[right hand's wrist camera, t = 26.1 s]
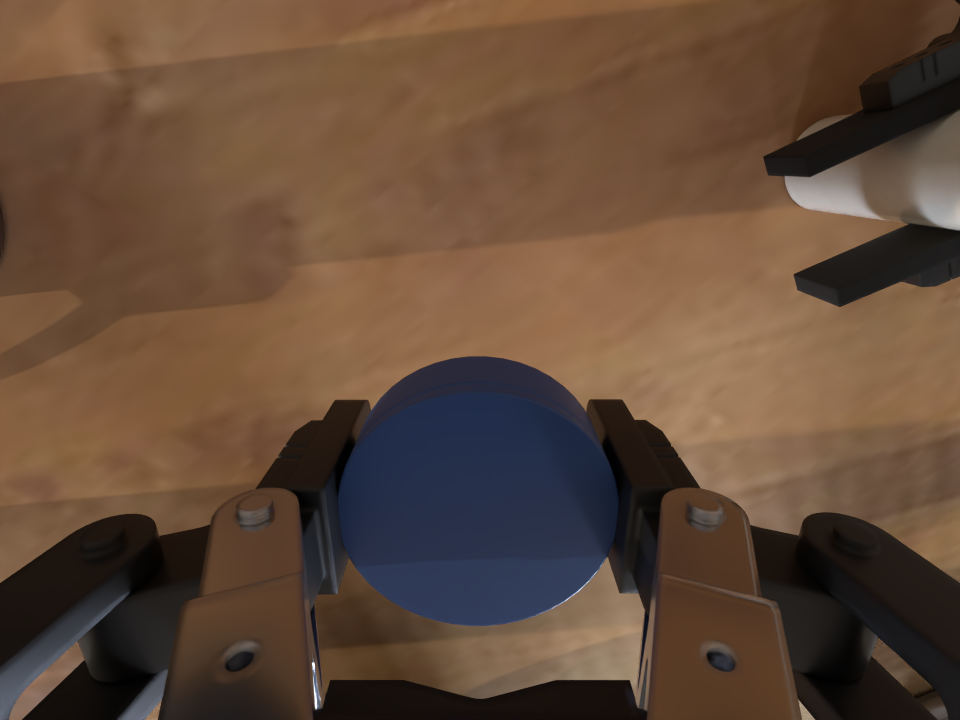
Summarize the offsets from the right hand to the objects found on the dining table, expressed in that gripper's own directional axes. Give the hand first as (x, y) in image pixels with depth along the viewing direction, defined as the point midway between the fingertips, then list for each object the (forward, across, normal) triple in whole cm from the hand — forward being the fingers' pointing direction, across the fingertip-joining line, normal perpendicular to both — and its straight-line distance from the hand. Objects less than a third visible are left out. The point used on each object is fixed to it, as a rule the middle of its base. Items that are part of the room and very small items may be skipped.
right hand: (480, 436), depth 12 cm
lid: (-3, 0, 0) cm, 3 cm away
